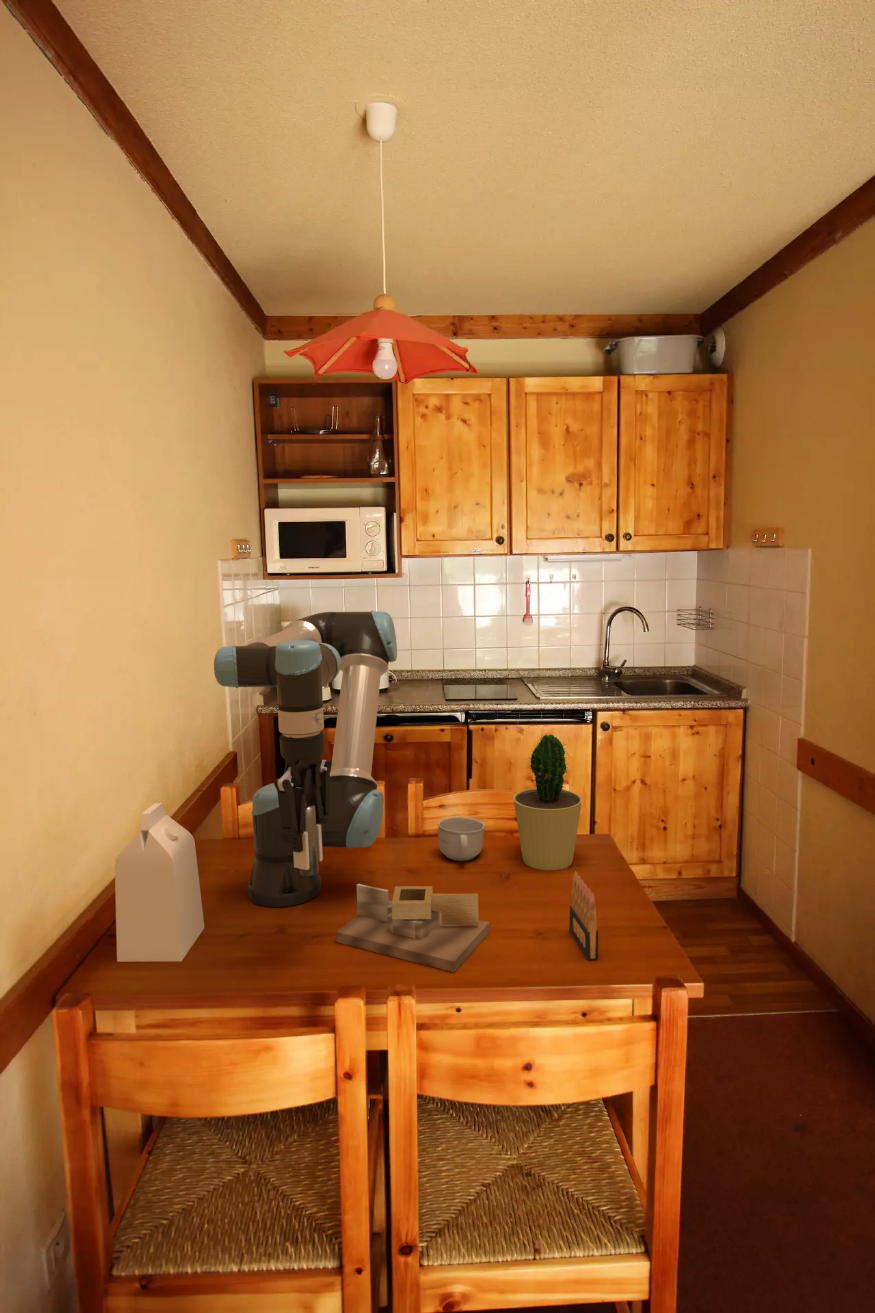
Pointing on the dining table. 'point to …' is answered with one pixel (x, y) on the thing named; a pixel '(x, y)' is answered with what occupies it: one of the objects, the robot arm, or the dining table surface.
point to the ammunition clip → (583, 918)
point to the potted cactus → (547, 810)
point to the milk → (157, 892)
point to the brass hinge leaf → (434, 905)
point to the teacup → (460, 837)
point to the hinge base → (409, 933)
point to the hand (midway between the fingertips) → (308, 863)
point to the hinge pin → (311, 840)
